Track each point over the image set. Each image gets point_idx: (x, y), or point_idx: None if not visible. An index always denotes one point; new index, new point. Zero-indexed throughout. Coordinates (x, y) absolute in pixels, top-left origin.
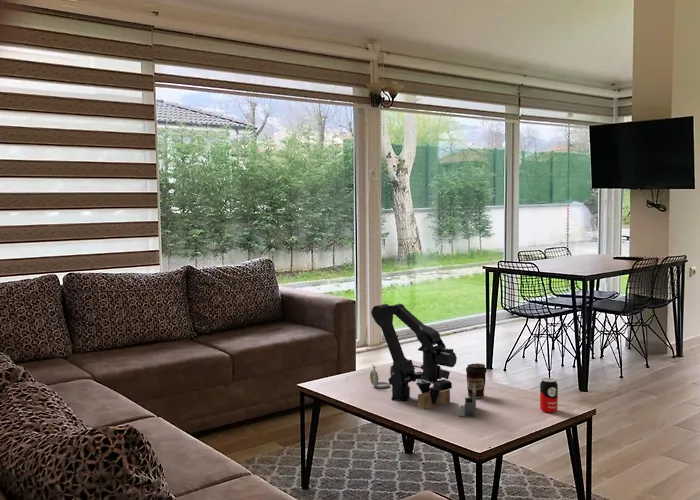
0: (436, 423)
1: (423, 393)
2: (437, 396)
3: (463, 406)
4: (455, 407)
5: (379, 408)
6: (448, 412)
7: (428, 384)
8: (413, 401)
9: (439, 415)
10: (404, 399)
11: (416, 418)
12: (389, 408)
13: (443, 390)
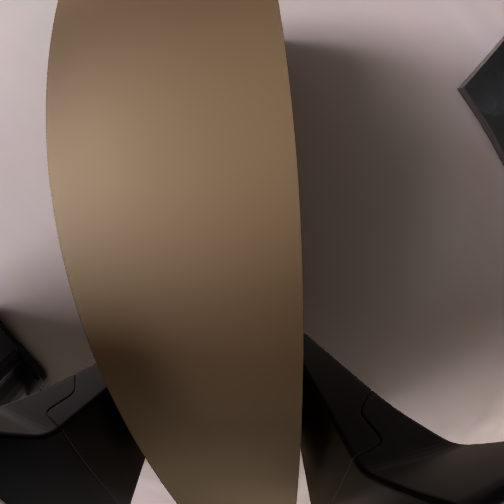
0: (480, 440)
1: (179, 489)
2: (363, 386)
3: (491, 90)
4: (452, 144)
5: (136, 500)
6: (482, 307)
7: (26, 486)
8: (61, 349)
9: (457, 393)
10: (38, 387)
11: None
12: (152, 491)
13: (212, 69)
